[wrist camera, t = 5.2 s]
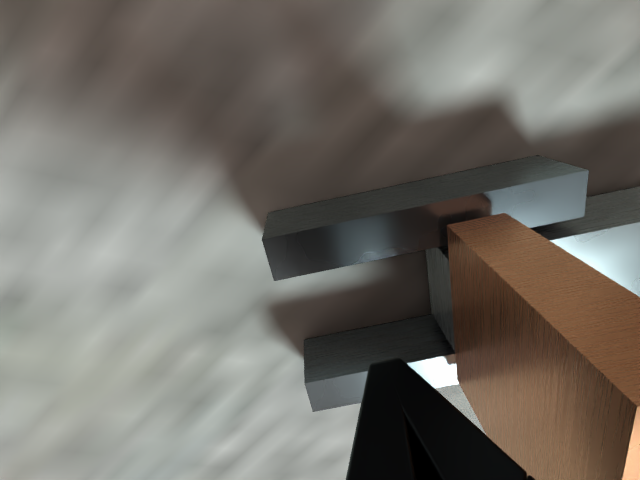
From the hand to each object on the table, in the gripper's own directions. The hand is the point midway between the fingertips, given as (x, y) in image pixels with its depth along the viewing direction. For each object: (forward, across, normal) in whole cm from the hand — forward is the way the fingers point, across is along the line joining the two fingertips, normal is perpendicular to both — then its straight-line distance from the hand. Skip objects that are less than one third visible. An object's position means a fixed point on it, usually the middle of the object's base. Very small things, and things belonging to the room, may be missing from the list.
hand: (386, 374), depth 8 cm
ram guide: (+4, -2, 0) cm, 4 cm away
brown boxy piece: (+4, -7, 0) cm, 8 cm away
